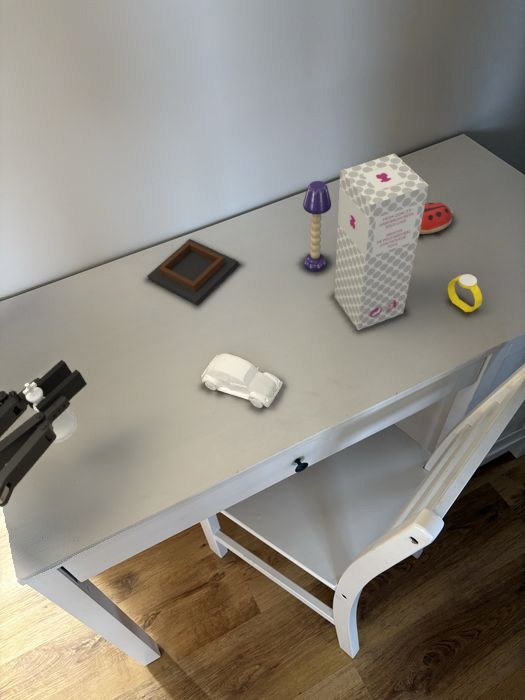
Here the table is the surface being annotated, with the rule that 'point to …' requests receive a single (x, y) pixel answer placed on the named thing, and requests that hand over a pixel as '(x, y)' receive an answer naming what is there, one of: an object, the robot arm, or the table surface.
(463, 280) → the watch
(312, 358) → the table surface
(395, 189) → the box
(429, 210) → the ladybug figurine
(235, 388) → the car
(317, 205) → the toy lamp
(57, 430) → the chess piece
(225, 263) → the socket pad
